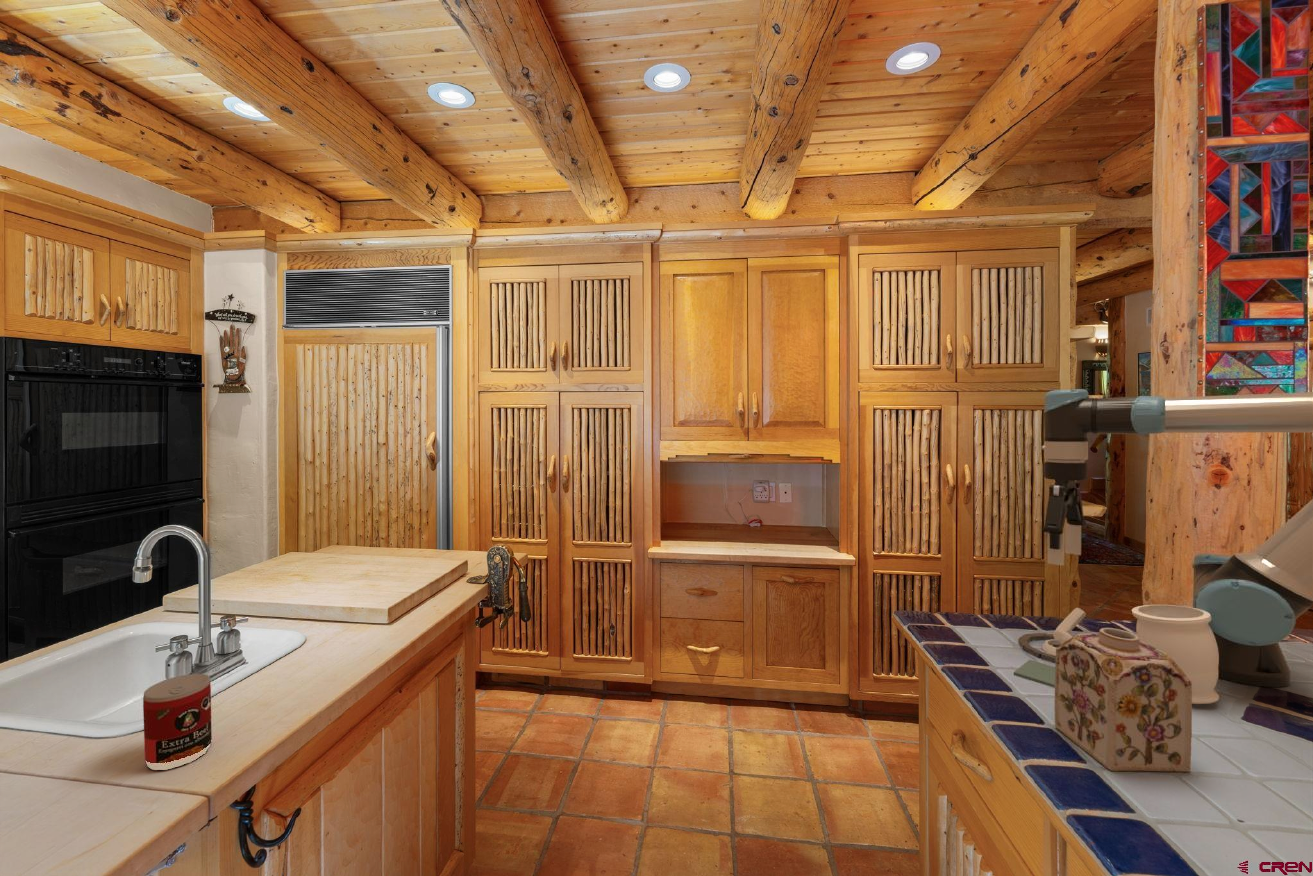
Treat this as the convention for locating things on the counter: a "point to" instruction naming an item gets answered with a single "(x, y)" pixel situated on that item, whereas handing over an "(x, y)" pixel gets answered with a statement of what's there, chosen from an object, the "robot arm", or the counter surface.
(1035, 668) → the rubber mat
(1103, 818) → the counter surface
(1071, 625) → the hook
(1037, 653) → the metal ring
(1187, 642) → the jar
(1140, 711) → the decorative jar
